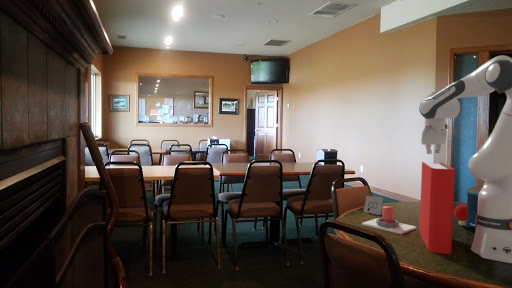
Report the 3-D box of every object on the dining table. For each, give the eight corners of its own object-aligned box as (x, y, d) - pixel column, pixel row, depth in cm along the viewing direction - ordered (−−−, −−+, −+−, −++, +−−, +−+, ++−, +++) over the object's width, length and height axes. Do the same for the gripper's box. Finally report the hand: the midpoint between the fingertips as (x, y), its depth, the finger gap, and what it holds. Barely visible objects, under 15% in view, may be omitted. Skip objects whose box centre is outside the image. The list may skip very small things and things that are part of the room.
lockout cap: (395, 225, 176) (395, 207, 176) (389, 226, 173) (390, 208, 173) (385, 223, 180) (386, 205, 180) (379, 224, 177) (380, 206, 177)
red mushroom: (454, 222, 186) (454, 202, 186) (470, 224, 183) (471, 204, 182) (452, 226, 178) (453, 206, 178) (469, 229, 175) (470, 207, 174)
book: (419, 232, 169) (422, 161, 167) (438, 233, 167) (441, 162, 165) (428, 252, 143) (431, 168, 141) (452, 254, 141) (455, 169, 139)
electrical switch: (363, 212, 205) (364, 195, 205) (367, 212, 209) (368, 195, 209) (380, 215, 199) (381, 198, 199) (384, 215, 203) (385, 197, 203)
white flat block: (416, 228, 175) (416, 222, 175) (401, 234, 165) (401, 227, 165) (377, 220, 190) (377, 214, 189) (361, 224, 180) (361, 218, 180)
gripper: (431, 125, 176) (430, 155, 176) (449, 125, 189) (448, 153, 190) (418, 125, 180) (417, 154, 181) (436, 125, 194) (435, 152, 195)
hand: (433, 153), depth 186 cm, fingers open, 8 cm apart
